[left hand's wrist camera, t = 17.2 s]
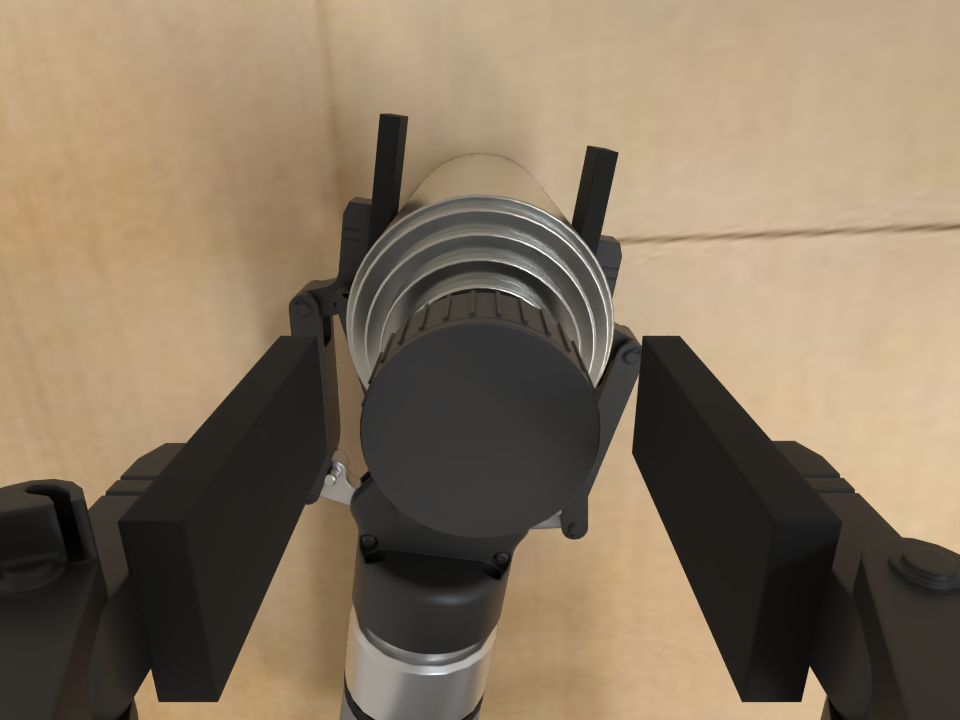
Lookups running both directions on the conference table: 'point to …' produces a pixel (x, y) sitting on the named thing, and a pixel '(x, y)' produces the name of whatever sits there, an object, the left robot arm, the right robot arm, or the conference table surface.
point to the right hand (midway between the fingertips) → (499, 133)
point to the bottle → (480, 259)
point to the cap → (480, 417)
